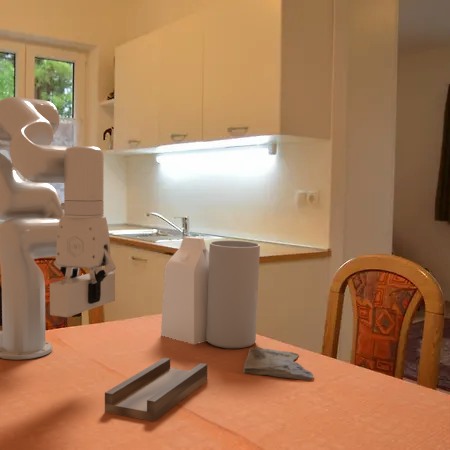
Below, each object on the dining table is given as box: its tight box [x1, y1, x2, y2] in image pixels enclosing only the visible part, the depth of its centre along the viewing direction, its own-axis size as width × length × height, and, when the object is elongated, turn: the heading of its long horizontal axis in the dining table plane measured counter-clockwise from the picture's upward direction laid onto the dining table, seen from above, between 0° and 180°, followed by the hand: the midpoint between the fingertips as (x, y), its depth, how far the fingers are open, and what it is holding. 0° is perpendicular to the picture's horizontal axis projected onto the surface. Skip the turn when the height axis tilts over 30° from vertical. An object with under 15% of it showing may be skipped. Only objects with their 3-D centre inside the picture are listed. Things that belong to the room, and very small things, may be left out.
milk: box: [160, 236, 209, 345], centre depth 153 cm, size 12×12×26 cm
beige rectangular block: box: [49, 271, 116, 318], centre depth 117 cm, size 4×16×6 cm, turn 158°
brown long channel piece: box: [104, 357, 208, 422], centre depth 111 cm, size 10×22×4 cm, turn 158°
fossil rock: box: [242, 346, 314, 381], centre depth 130 cm, size 18×15×2 cm
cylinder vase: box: [206, 239, 261, 350], centre depth 146 cm, size 12×12×25 cm
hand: (84, 300), depth 117 cm, fingers closed on beige rectangular block, 4 cm apart
